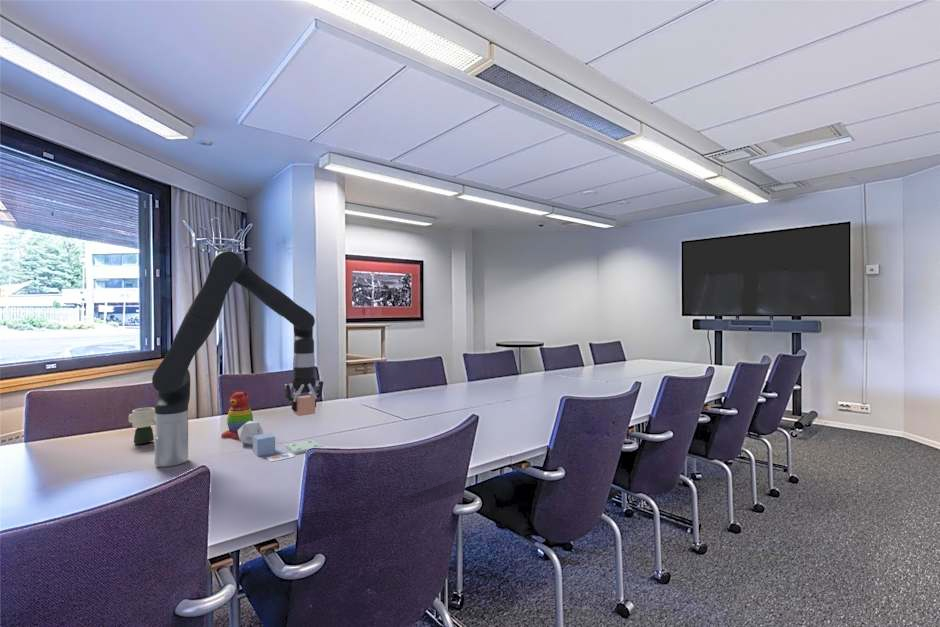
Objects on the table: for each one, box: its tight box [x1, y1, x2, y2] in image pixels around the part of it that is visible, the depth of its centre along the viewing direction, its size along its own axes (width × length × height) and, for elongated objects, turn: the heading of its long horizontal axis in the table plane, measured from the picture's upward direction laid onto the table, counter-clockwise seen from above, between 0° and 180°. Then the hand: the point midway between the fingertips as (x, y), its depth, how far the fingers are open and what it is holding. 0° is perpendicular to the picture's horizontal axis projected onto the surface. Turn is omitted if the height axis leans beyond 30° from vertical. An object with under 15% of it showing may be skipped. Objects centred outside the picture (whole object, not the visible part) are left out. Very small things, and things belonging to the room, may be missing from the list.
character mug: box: [128, 406, 155, 445], centre depth 171 cm, size 11×7×13 cm, turn 94°
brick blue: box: [252, 432, 276, 457], centre depth 161 cm, size 6×6×6 cm
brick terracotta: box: [292, 394, 316, 417], centre depth 166 cm, size 6×6×6 cm
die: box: [237, 420, 264, 446], centre depth 172 cm, size 8×9×10 cm
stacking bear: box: [221, 391, 254, 440], centre depth 182 cm, size 11×10×18 cm
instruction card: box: [266, 452, 296, 463], centre depth 156 cm, size 8×5×1 cm, turn 129°
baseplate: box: [285, 439, 323, 455], centre depth 166 cm, size 10×10×1 cm
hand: (304, 410), depth 166 cm, fingers closed on brick terracotta, 6 cm apart
